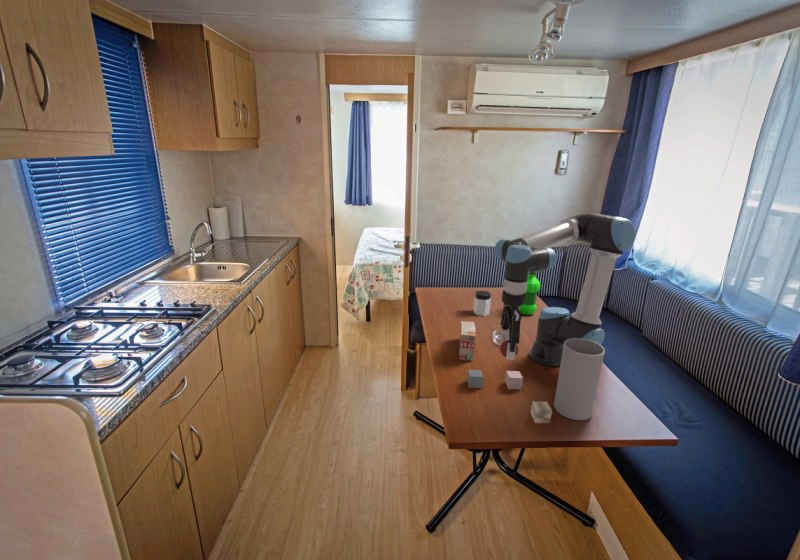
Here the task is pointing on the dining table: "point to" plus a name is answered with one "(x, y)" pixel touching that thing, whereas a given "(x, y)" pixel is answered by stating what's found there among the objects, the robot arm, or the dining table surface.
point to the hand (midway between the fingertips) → (506, 352)
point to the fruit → (504, 348)
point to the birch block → (541, 412)
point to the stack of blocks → (467, 341)
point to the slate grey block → (475, 379)
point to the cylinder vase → (578, 378)
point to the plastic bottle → (530, 295)
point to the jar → (482, 303)
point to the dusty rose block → (514, 380)
